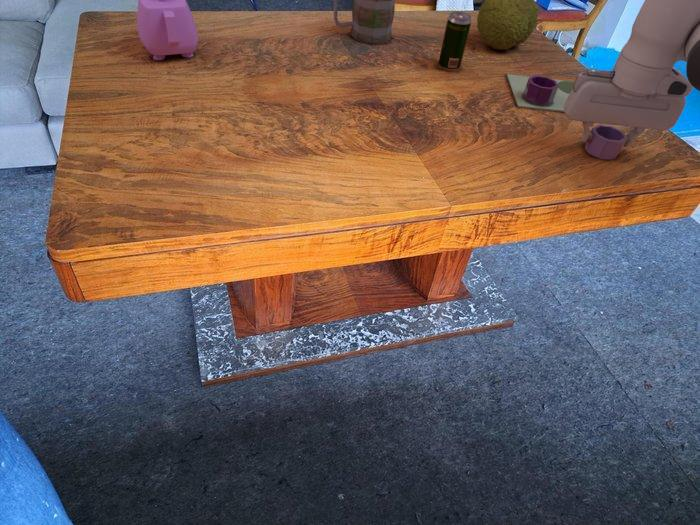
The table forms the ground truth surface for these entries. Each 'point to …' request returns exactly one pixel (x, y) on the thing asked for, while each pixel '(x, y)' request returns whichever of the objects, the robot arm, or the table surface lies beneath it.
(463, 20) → the beer can
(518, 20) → the fruit
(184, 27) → the pink rounded piece
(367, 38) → the mug
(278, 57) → the table surface
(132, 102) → the table surface
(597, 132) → the lavender dish
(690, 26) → the robot arm
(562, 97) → the mat
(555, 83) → the plum dish
